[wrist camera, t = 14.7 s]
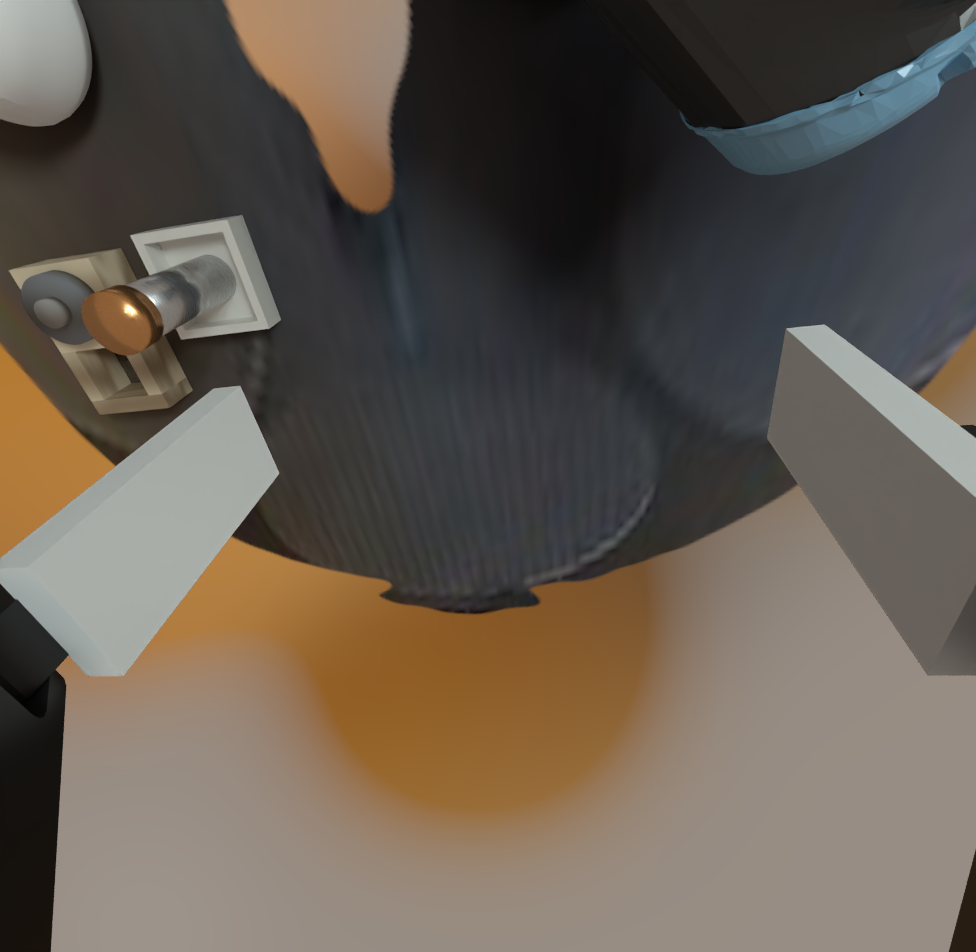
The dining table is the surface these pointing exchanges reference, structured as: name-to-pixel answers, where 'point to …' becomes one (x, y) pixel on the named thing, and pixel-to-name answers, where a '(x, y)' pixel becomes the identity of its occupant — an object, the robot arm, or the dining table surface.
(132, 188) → the dining table surface
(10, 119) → the teapot
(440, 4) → the dining table surface
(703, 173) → the dining table surface
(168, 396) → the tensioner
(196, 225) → the tray
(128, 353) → the pin
